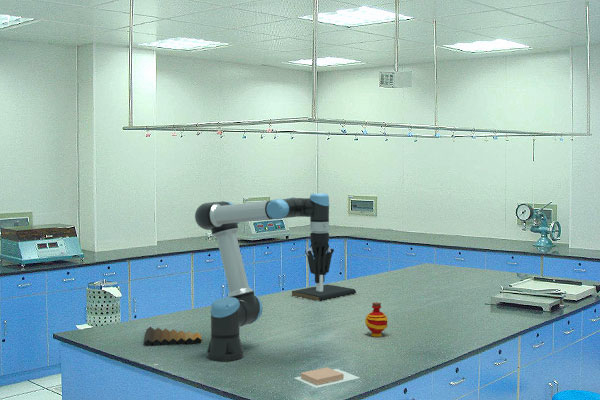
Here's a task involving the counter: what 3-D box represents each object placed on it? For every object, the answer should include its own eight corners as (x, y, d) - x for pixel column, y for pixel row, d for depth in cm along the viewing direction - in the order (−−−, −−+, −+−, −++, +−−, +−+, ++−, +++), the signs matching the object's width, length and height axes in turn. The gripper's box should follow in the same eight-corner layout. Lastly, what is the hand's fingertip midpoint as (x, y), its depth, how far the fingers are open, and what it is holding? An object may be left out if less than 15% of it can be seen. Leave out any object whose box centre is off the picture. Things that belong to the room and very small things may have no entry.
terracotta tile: (326, 367, 255) (300, 372, 248) (343, 373, 247) (316, 379, 240) (326, 372, 255) (300, 378, 248) (343, 379, 247) (316, 385, 240)
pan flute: (146, 333, 321) (144, 347, 297) (146, 326, 321) (143, 339, 296) (199, 331, 326) (201, 344, 301) (199, 324, 325) (201, 337, 301)
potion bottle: (375, 331, 322) (375, 300, 322) (392, 335, 315) (392, 303, 314) (360, 335, 316) (360, 303, 315) (376, 339, 308) (376, 306, 307)
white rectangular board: (336, 370, 260) (336, 368, 260) (360, 379, 249) (360, 377, 249) (293, 379, 249) (293, 377, 249) (316, 389, 237) (316, 387, 237)
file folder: (326, 283, 438) (356, 288, 421) (326, 290, 438) (356, 295, 421) (291, 290, 414) (320, 296, 397) (291, 297, 414) (320, 302, 397)
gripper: (311, 233, 264) (312, 294, 265) (338, 232, 271) (338, 290, 272) (300, 232, 270) (300, 291, 271) (327, 230, 277) (326, 287, 278)
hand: (319, 290), depth 272 cm, fingers closed
